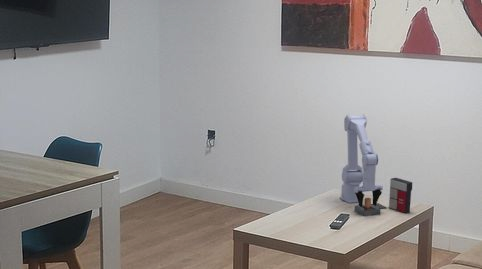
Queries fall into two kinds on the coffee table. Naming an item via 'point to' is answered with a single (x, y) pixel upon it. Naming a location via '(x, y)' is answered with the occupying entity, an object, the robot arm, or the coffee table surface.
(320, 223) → the coffee table surface
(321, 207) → the coffee table surface
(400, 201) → the red and grey box
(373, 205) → the mat
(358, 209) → the chuck plate
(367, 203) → the cylinder
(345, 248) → the coffee table surface
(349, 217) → the coffee table surface
